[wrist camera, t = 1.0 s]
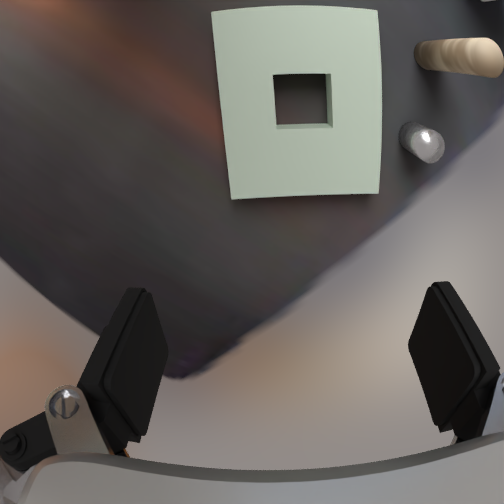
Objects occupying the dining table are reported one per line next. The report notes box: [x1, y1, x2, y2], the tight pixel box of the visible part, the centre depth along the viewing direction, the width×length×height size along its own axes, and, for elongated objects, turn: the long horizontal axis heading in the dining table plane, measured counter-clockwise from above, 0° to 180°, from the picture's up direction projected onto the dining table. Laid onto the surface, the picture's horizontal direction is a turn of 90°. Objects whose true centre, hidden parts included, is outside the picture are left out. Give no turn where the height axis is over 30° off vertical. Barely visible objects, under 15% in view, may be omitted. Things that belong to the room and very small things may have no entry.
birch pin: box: [414, 38, 504, 78], centre depth 21 cm, size 4×4×12 cm
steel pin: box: [399, 122, 445, 163], centre depth 29 cm, size 4×4×5 cm
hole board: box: [211, 6, 382, 199], centre depth 29 cm, size 20×16×3 cm
